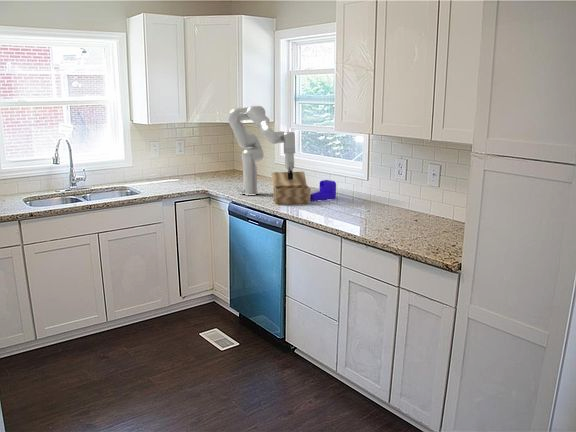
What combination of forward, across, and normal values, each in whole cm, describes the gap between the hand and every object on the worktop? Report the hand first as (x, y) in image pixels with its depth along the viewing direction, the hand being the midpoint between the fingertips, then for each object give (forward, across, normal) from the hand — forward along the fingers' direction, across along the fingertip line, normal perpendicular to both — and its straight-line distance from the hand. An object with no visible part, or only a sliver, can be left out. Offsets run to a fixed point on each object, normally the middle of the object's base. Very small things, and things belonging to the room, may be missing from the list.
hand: (290, 178), depth 346 cm
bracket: (+15, +2, +20) cm, 24 cm away
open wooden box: (+14, +9, -1) cm, 17 cm away
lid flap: (0, -1, -1) cm, 1 cm away
